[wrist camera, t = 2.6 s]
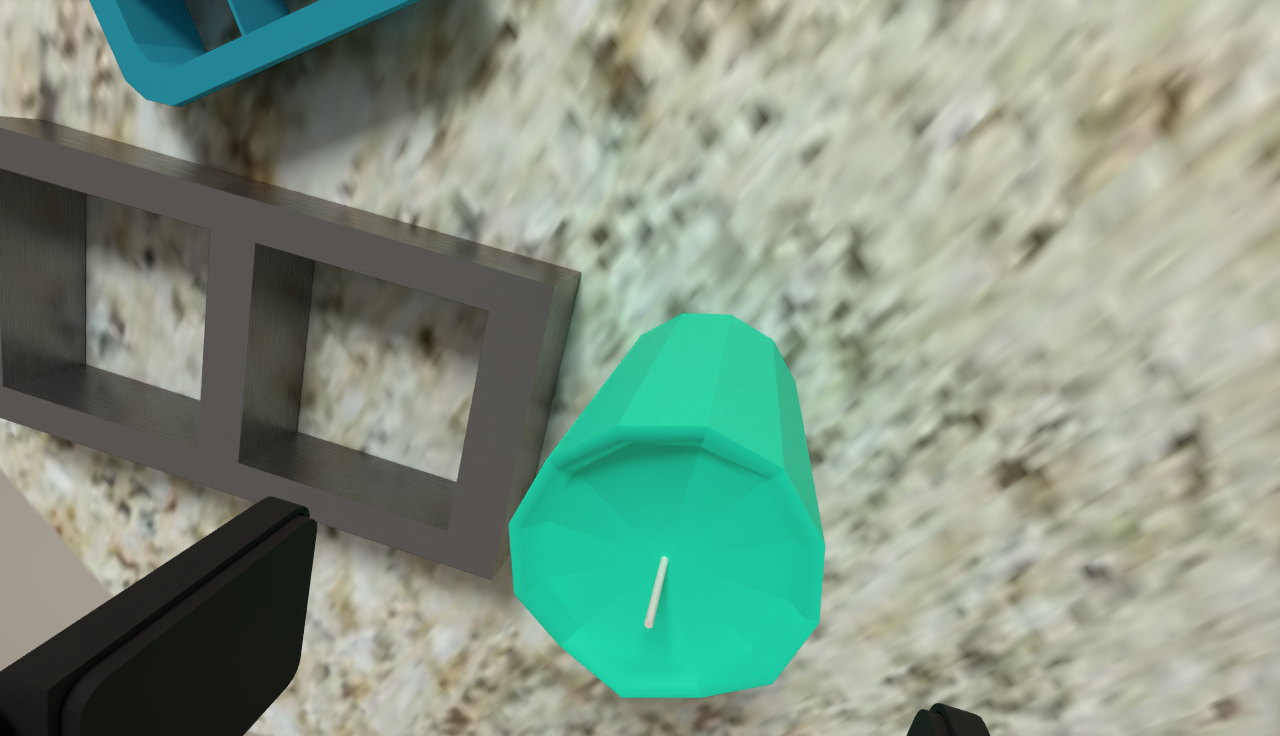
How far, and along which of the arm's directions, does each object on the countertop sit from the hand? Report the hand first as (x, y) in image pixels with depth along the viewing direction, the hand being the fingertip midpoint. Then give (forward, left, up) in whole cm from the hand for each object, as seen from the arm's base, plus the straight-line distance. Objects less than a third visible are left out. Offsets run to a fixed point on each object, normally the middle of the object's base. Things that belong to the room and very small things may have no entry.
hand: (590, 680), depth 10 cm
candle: (-1, 0, -13) cm, 13 cm away
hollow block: (+14, +2, -13) cm, 20 cm away
